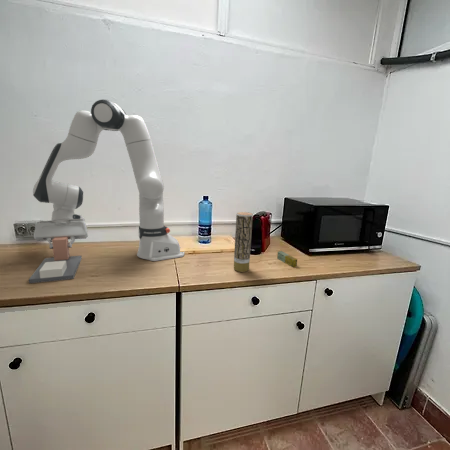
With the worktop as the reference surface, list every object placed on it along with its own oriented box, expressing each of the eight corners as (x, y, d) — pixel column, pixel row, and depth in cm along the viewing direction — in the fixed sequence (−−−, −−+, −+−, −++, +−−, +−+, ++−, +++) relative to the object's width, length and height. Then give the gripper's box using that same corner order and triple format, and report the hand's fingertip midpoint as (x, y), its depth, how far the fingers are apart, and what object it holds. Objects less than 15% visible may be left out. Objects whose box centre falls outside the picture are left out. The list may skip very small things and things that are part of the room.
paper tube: (248, 273, 112) (252, 215, 106) (232, 271, 113) (235, 214, 108) (249, 267, 119) (253, 212, 113) (234, 265, 120) (237, 211, 114)
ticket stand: (81, 258, 120) (80, 248, 119) (73, 278, 100) (72, 267, 99) (45, 261, 115) (44, 251, 114) (29, 283, 95) (27, 271, 94)
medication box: (276, 258, 132) (277, 251, 131) (281, 258, 133) (281, 250, 132) (292, 267, 121) (293, 259, 120) (297, 267, 122) (297, 258, 121)
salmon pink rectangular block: (69, 256, 117) (67, 236, 115) (67, 259, 114) (65, 239, 111) (56, 257, 115) (54, 237, 113) (54, 260, 112) (52, 240, 110)
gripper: (33, 217, 113) (29, 246, 107) (87, 215, 120) (86, 242, 114) (37, 225, 118) (34, 252, 112) (88, 223, 125) (88, 249, 119)
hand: (60, 247), depth 113 cm, fingers closed on salmon pink rectangular block, 5 cm apart
